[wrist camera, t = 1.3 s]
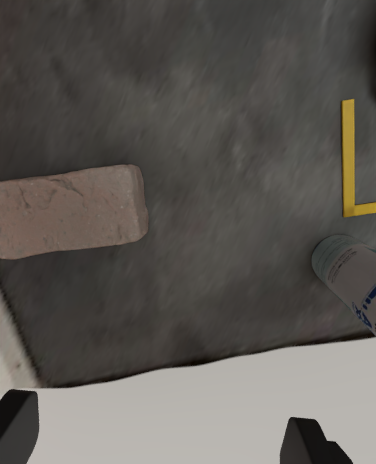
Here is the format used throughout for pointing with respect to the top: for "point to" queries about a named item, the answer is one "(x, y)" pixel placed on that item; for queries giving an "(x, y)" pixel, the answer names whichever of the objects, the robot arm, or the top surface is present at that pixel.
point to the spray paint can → (349, 274)
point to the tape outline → (350, 164)
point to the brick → (72, 211)
